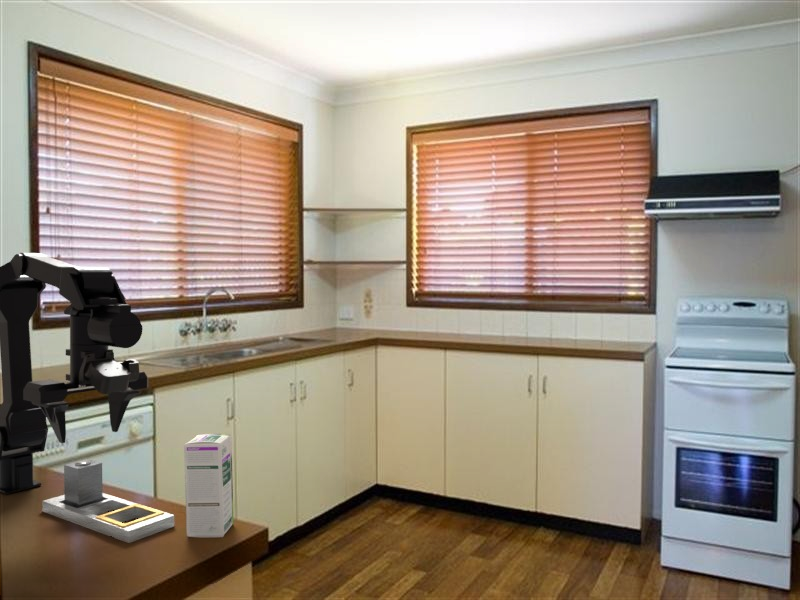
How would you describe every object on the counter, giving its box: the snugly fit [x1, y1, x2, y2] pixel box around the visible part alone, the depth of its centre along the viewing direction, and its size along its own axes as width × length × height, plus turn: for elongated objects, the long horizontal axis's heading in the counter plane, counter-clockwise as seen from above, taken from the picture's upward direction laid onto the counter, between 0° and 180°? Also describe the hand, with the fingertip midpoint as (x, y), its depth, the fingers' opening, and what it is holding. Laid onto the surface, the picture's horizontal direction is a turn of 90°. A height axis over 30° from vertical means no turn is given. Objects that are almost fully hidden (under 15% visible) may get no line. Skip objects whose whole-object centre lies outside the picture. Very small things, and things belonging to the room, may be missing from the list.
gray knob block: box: [63, 458, 104, 508], centre depth 111 cm, size 4×4×8 cm
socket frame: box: [41, 492, 175, 544], centre depth 107 cm, size 24×8×2 cm, turn 56°
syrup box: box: [183, 433, 235, 538], centre depth 102 cm, size 6×6×14 cm
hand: (89, 437), depth 110 cm, fingers open, 9 cm apart
